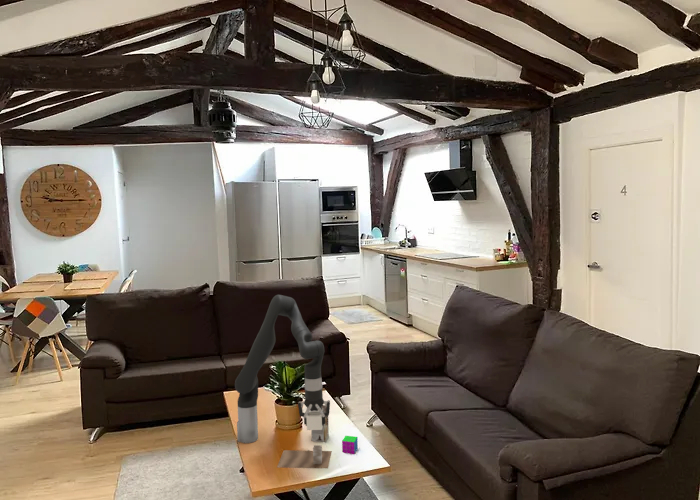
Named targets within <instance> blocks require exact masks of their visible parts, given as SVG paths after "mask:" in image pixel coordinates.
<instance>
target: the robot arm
mask: <svg viewBox="0 0 700 500" xmlns="http://www.w3.org/2000/svg"><path fill="white" fill-rule="evenodd" d="M267 308H268V309H267V312H266V314H265V317H264V319H263V322H262V325H261V327H260V329H259V331H258V332H257V335H256V338H255V339H254V341H253V343H252V346H251V348H250V351H249V353H248V355H247V358H246V361H245V363H244V365H243V367H242V368H241V370H240V372H239V373H238V375H237V376H236V378H235V381H234V389H235V391H236V392H237V393H239V395H238V398H237V422H236V432H237V433H236V436H237V437H236V438H237V442H238V443H239V442H240V443H241V444H251V443H255V442H256V441H258V440H259V429H258V428H259V426H258V424H259V422H258V398H259V379H258V373H259V371H260V369H261V368H262V367H263V365H264V364H265V362H266V361H267V360H268V358H269V356H270V354H271V352H272V351H273V349H274V346H275V344H276V340H277V339H276V331H275V325H276V324H275V323H276V321H277V318H278V316H283V317H287V318H288V319H289V320H290V321H291V325H290V330H291V333H292V336H293V337H294V339H295V340H296V342H297V345H298V350H299V354H300V357H301V358H302V359H304V360H310V359H312V360H310V361H309V362H308V363H305V365H304V401H301V400H299V401H298V403H297V407H298V414H299V417H303V422H304V423H303V424H304V425H305V426H306V427H307V420H306V416H307V415H308V413H309V411H319V412H320V414H322V426H323V425H324V424H325V416H328V417H329V415H330V406H331V400H324V399H323V398H324V397H323V396H324V394H323V381H322V380H323V379H322V364H323V359H324V355H325V345H324V343H323V342H322V341H321V340H318V339H317V340H313V334H312V332H311V330H310V329H309V328H308V327H307V324H306V323H305V321H304V319H303V317H302V314H301V311H300V308H299V307H298V304H297V302H296V300H295V299H294V298H293V297H291V296H287V295H282V294H276V295H274V296H273V297H272V299H271V300H270V303H269V306H268V307H267ZM312 340H313V341H312ZM322 405H325V406H327V411H326V412H324V410H323V408H322ZM304 406H305V407H306V410H305V412H304V410H303V407H304Z"/></svg>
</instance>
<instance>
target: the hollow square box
mask: <svg viewBox="0 0 700 500" xmlns="http://www.w3.org/2000/svg"><path fill="white" fill-rule="evenodd" d="M306 420H307V426H306V431H311V430H322V414H320V412H319V411H309V413H308V415H307V416H306Z"/></svg>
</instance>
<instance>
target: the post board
mask: <svg viewBox="0 0 700 500" xmlns="http://www.w3.org/2000/svg"><path fill="white" fill-rule="evenodd" d="M332 452H333V451H332V450H323V445H322V444H319V445H318V444H317V445H316V444H313V448H312V450H291V449H290V450H288V449H285V450H284V449H283V452H282V454H281V457H280V458H279V461H278V464H277V466H276V468H280V469H281V468H289V469H291V468H292V469H296V468H297V469H329V465H330V462H331V458H332V457H331V456H332Z"/></svg>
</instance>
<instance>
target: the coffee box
mask: <svg viewBox="0 0 700 500" xmlns="http://www.w3.org/2000/svg"><path fill="white" fill-rule="evenodd" d="M322 408H323V410H324V412H326V411H327V406H325V404H323V405H322ZM329 427H330V426H329V416H325V424H324V425H323V426H322V430H310V431H311V434H310V435H311V442H319V443H324V444H326V443H327V441H328V440H329V439H328V438H329V437H330V434H329V433H330V431H329V429H330V428H329Z"/></svg>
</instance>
